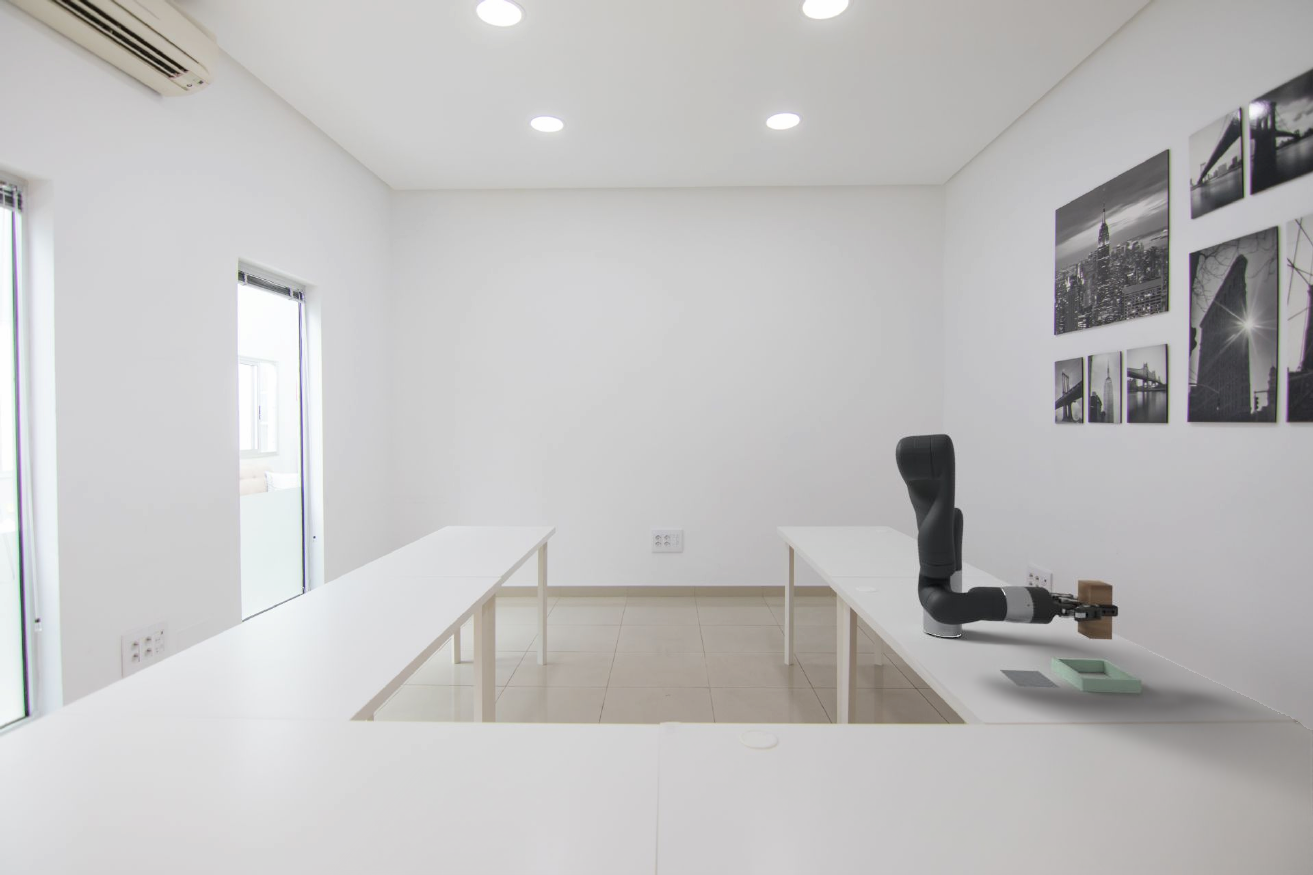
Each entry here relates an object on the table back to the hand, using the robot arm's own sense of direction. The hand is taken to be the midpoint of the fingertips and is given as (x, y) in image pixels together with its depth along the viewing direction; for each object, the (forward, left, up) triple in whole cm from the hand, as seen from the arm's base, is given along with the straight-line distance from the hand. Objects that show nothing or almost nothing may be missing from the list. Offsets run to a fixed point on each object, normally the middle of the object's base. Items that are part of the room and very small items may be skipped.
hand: (1108, 607), depth 124 cm
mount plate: (0, -16, -16) cm, 23 cm away
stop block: (0, -3, -6) cm, 7 cm away
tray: (0, -3, -16) cm, 17 cm away
